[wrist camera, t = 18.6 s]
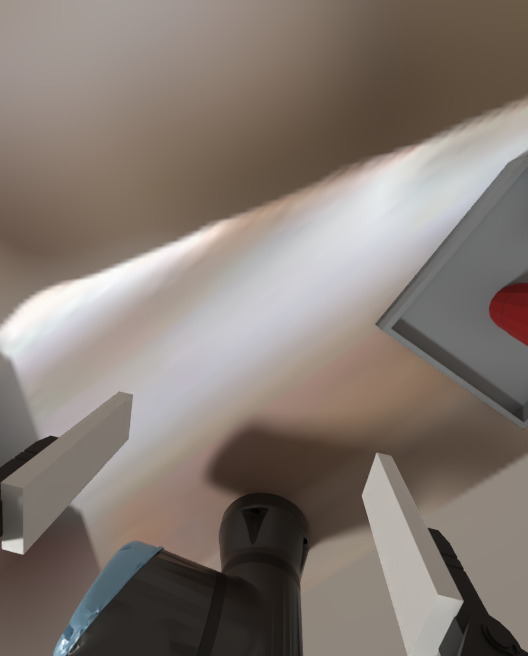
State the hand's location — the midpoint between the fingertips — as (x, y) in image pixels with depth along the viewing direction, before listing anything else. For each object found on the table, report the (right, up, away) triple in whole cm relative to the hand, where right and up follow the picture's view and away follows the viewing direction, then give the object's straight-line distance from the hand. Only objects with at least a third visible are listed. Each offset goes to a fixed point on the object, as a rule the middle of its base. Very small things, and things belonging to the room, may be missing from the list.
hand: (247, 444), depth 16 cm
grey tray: (+33, +9, +23) cm, 41 cm away
